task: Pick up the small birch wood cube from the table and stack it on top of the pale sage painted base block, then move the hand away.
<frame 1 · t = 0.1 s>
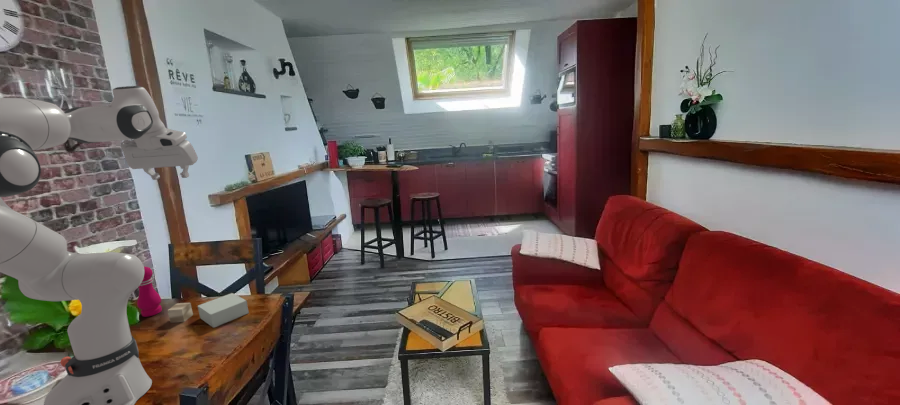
hand: (171, 178, 127), 52 cm above the table, tool tilted 20°, fingers open, 8 cm apart
birch cube: (182, 318, 141), on the table
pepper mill: (152, 313, 148), on the table
base block: (224, 315, 142), on the table
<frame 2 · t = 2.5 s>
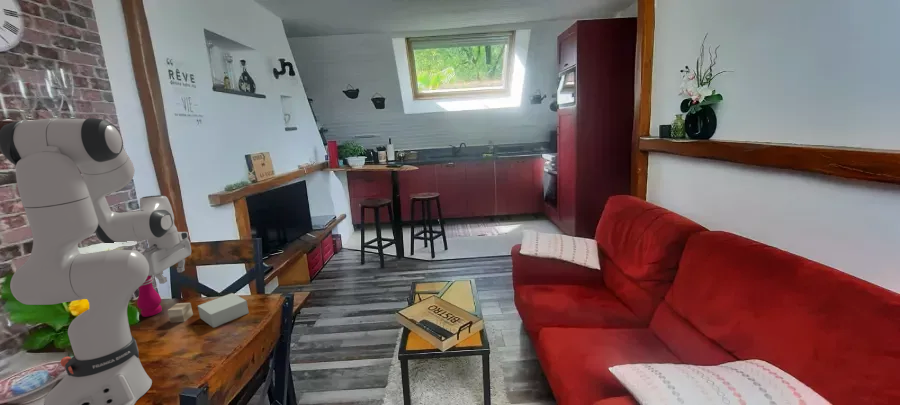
hand: (172, 277, 138), 16 cm above the table, tool pointing down, fingers open, 8 cm apart
nothing on the table moved.
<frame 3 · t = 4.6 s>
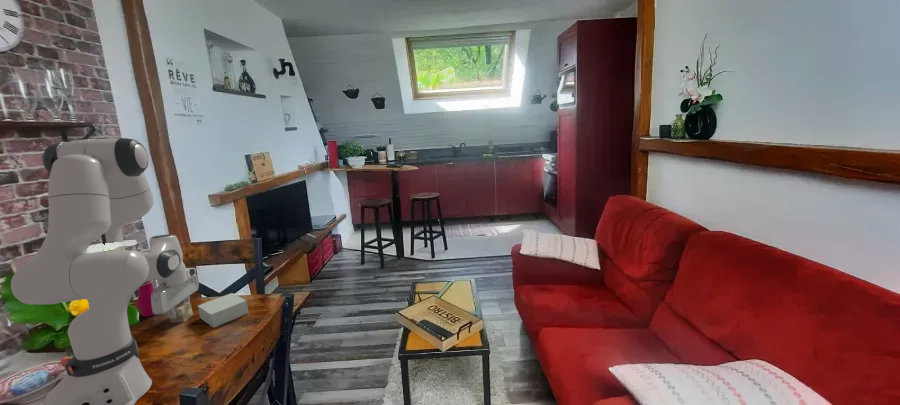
hand: (180, 313, 141), 2 cm above the table, tool pointing down, fingers closed on birch cube, 5 cm apart
birch cube: (181, 318, 141), on the table, touching gripper
everything else where it was.
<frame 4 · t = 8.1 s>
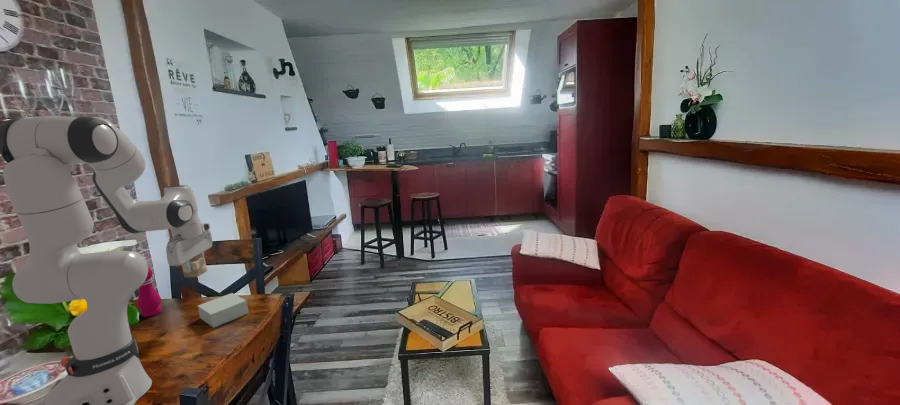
hand: (195, 268, 137), 19 cm above the table, tool pointing down, fingers closed on birch cube, 5 cm apart
birch cube: (196, 274, 138), point 17 cm above the table, touching gripper
everything else where it was.
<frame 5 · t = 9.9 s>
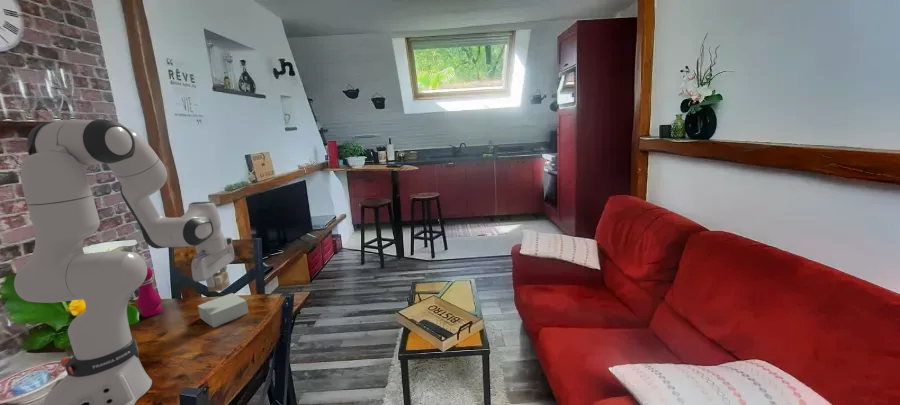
hand: (218, 282, 139), 13 cm above the table, tool pointing down, fingers closed on birch cube, 5 cm apart
birch cube: (219, 288, 139), point 11 cm above the table, touching gripper
everything else where it was.
when the fingers open (9 cm above the table, at t = 11.5 s): birch cube drops 1 cm, resting on base block.
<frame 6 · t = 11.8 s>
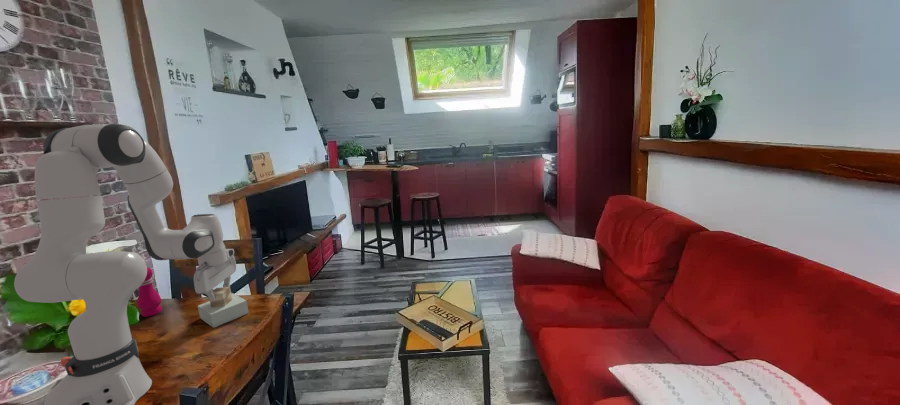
hand: (220, 294, 140), 9 cm above the table, tool pointing down, fingers open, 8 cm apart
birch cube: (222, 303, 140), point 5 cm above the table, touching base block
everything else where it was.
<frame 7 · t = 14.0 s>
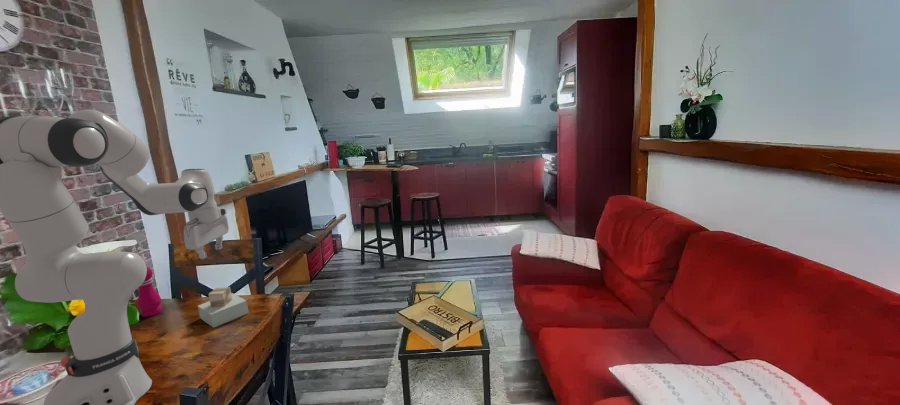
hand: (211, 253, 136), 24 cm above the table, tool pointing down, fingers open, 8 cm apart
nothing on the table moved.
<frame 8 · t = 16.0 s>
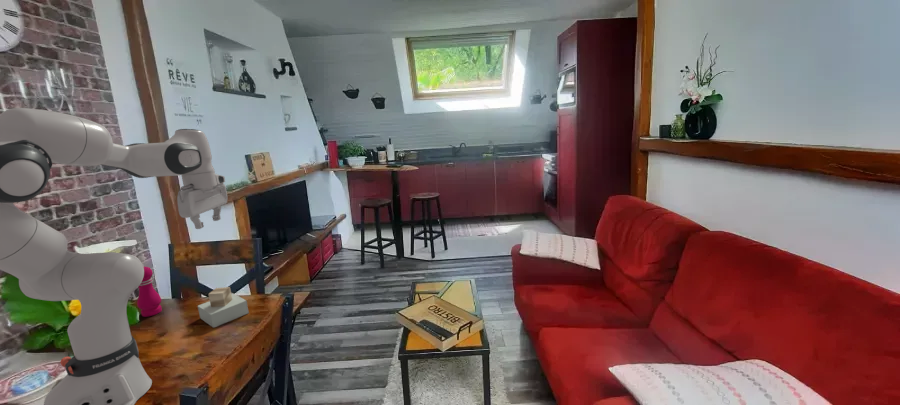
hand: (208, 224, 124), 37 cm above the table, tool pointing down, fingers open, 8 cm apart
nothing on the table moved.
at the end: birch cube 0.1 cm off-centre on the base block, point 5.0 cm above the base block's base; birch cube tilted 0°; the gripper is holding nothing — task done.
